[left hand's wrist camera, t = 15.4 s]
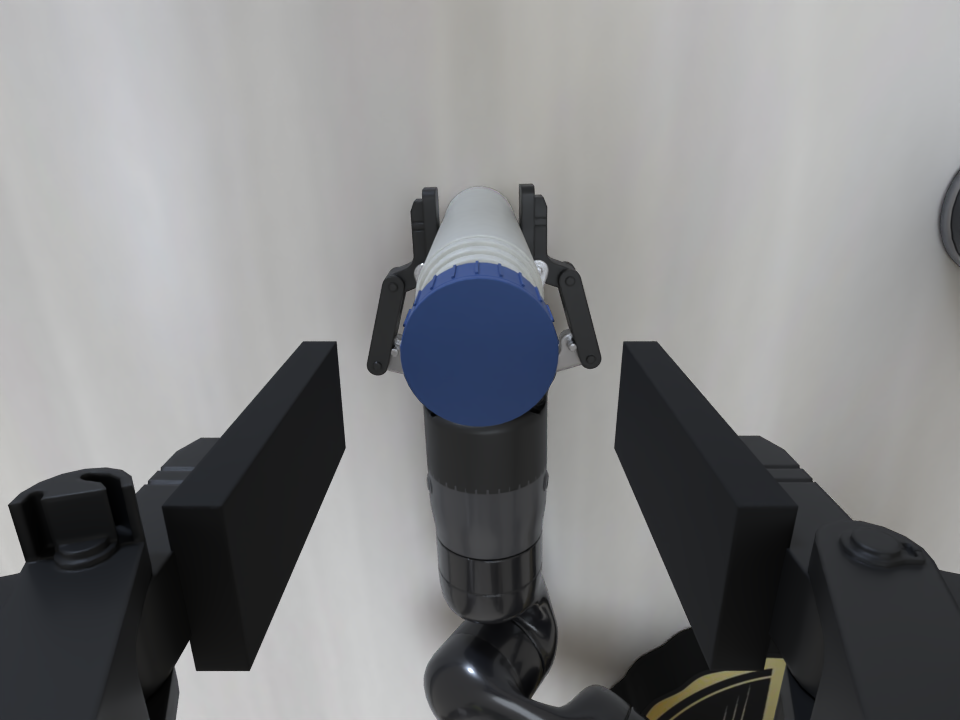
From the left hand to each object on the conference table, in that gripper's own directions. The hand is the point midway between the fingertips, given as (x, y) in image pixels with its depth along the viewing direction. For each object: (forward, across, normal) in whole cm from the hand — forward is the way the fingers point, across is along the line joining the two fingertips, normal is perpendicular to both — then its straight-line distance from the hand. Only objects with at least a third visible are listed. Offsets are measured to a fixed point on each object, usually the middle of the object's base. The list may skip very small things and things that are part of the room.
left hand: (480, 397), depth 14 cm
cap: (+2, 0, 0) cm, 2 cm away
